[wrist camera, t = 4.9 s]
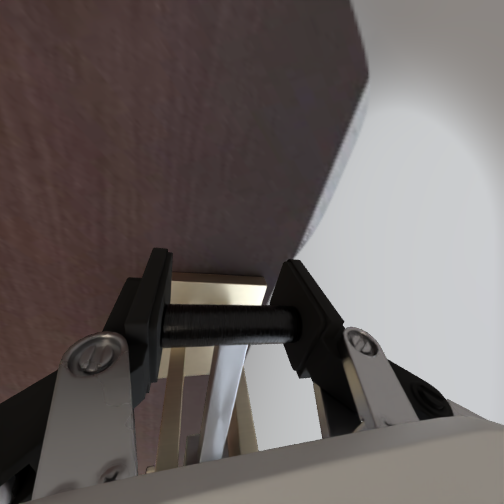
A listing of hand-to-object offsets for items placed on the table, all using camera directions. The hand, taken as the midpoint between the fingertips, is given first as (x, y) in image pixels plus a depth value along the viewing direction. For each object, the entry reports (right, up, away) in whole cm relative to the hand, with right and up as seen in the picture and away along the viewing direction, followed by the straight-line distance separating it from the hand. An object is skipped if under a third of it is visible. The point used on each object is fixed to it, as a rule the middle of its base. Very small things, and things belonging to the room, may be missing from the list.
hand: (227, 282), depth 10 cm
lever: (-1, -6, +1) cm, 6 cm away
